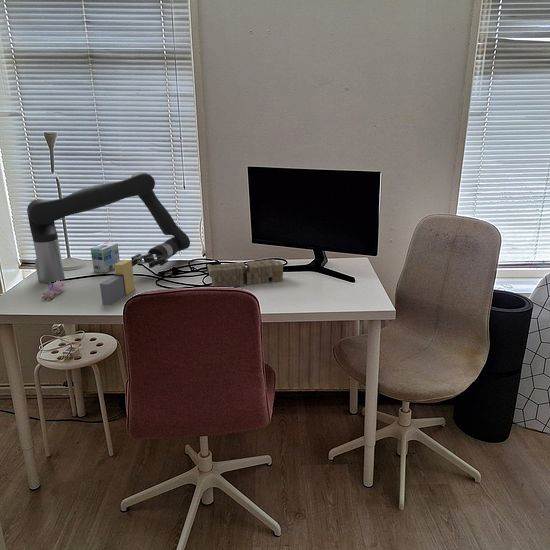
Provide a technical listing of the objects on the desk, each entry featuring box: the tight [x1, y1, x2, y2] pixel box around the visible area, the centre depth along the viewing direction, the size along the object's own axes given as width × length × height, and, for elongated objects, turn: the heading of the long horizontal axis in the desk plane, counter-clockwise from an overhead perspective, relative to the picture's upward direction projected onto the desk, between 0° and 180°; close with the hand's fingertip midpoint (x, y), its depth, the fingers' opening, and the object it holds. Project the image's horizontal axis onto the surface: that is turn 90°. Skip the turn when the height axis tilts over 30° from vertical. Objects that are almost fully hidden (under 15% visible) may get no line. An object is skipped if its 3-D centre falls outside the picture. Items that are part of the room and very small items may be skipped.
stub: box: [114, 259, 136, 296], centre depth 188 cm, size 6×4×12 cm, turn 163°
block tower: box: [207, 258, 284, 288], centre depth 197 cm, size 8×8×29 cm
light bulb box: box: [90, 241, 121, 273], centre depth 216 cm, size 11×7×11 cm, turn 160°
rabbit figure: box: [40, 280, 66, 302], centre depth 188 cm, size 6×6×15 cm
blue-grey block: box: [99, 273, 127, 306], centre depth 181 cm, size 10×4×8 cm, turn 163°
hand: (140, 264), depth 197 cm, fingers open, 8 cm apart
